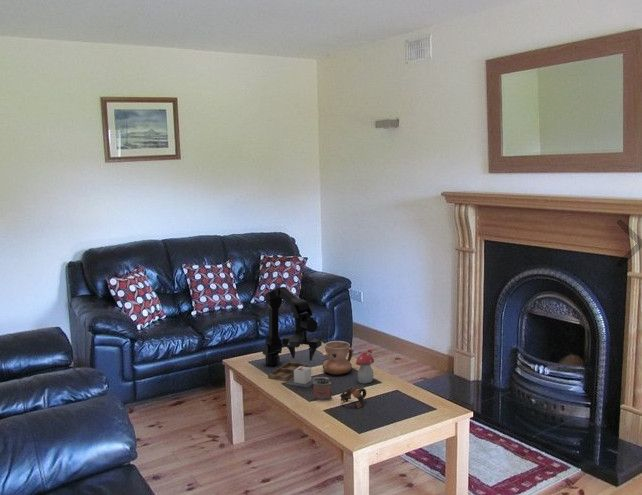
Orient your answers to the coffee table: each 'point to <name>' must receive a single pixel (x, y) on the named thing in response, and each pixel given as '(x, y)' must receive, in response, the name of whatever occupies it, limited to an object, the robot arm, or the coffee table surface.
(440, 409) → the coffee table surface
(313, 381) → the pad
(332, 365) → the ceramic jug
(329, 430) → the coffee table surface
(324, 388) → the lighter
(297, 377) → the letter cube
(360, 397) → the brown irregular piece
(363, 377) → the decorative ornament
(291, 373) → the tray
